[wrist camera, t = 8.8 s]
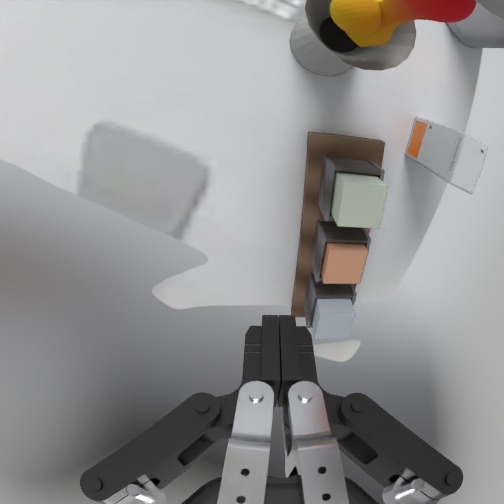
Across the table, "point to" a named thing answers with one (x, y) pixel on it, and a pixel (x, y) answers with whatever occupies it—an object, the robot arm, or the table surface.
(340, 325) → the grey block
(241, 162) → the table surface
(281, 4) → the table surface
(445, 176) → the skincare box
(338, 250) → the terracotta block
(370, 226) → the sage block
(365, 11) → the lava lamp
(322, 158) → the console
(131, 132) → the table surface
